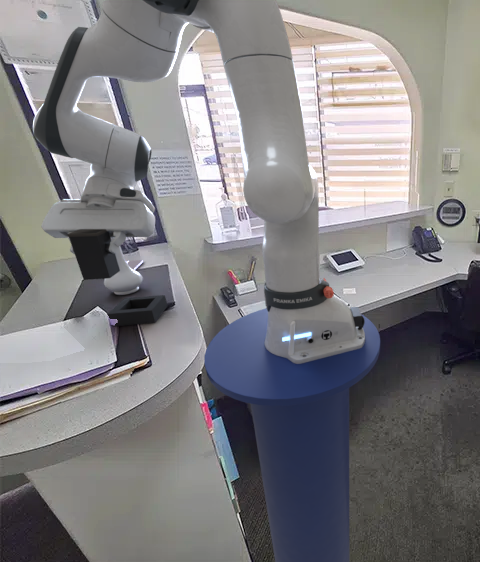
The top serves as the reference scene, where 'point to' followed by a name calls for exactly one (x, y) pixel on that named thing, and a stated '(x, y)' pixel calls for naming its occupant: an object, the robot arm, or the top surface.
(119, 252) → the flower vase
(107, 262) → the black tall block
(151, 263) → the top surface
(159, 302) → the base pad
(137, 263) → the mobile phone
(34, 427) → the top surface
